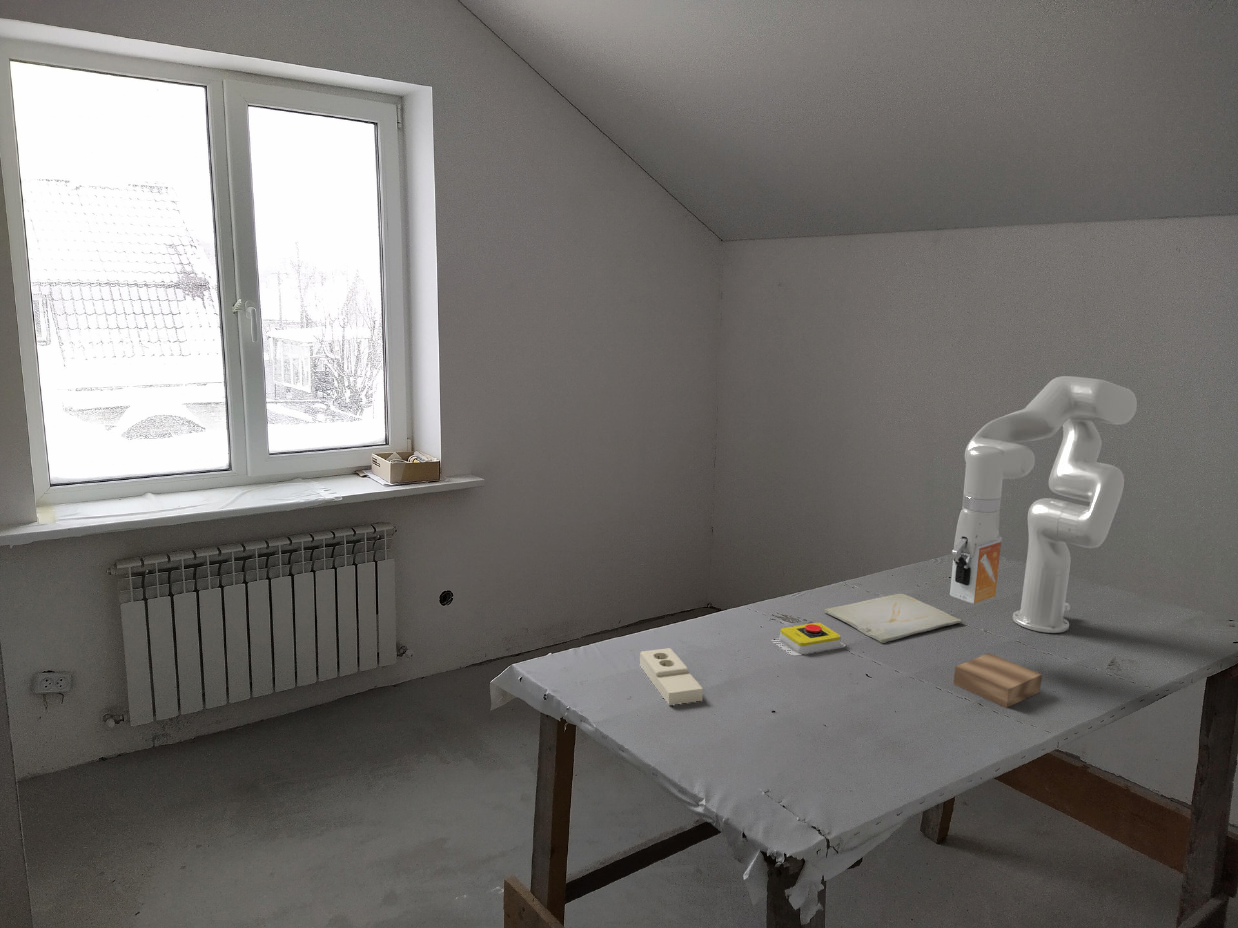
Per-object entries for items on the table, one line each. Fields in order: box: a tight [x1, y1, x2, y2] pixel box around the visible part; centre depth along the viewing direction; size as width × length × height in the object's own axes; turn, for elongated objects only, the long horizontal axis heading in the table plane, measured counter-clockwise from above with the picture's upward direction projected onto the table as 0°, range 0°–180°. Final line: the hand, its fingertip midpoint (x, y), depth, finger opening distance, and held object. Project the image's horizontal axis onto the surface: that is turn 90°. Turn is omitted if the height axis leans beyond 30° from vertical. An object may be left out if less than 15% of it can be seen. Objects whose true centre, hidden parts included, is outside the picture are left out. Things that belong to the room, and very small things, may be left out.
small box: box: [949, 541, 1002, 605], centre depth 190 cm, size 8×6×13 cm
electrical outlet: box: [639, 647, 704, 706], centre depth 179 cm, size 7×4×18 cm
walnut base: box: [953, 652, 1043, 709], centre depth 179 cm, size 12×12×4 cm
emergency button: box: [771, 622, 846, 657], centre depth 199 cm, size 9×4×15 cm
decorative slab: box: [823, 593, 963, 644], centre depth 215 cm, size 27×21×2 cm
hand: (974, 578), depth 191 cm, fingers closed on small box, 8 cm apart
